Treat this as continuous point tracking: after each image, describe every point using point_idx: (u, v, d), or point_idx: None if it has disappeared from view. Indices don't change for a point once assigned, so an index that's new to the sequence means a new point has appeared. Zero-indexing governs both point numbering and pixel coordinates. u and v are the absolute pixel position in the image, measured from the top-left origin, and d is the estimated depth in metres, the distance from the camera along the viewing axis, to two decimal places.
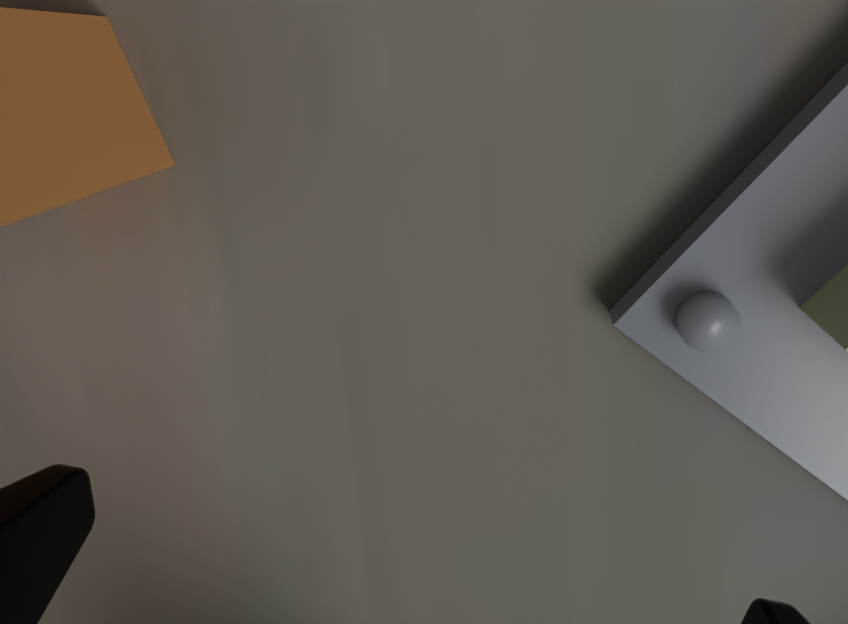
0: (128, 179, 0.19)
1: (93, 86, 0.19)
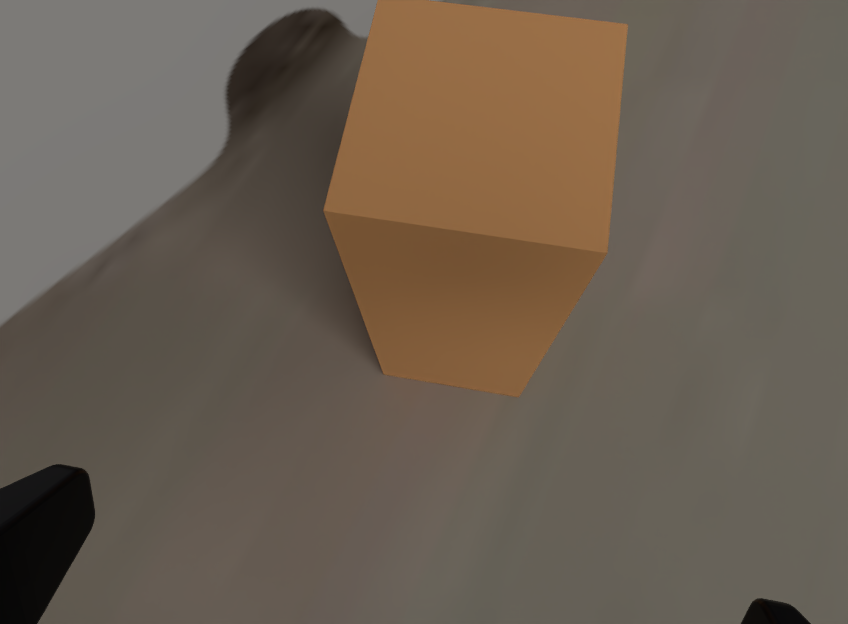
0: (529, 378, 0.20)
1: None
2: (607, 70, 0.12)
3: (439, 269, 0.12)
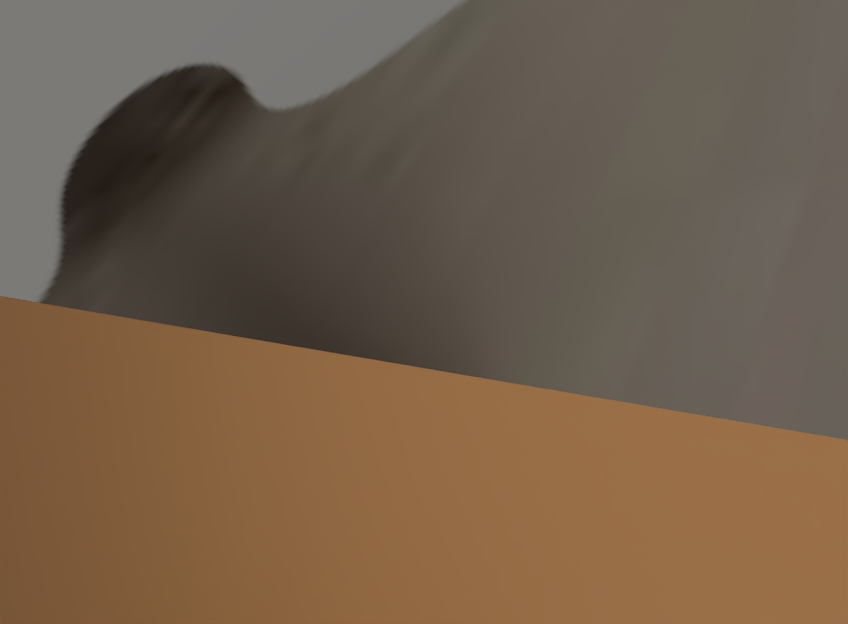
0: None
1: None
2: None
3: None
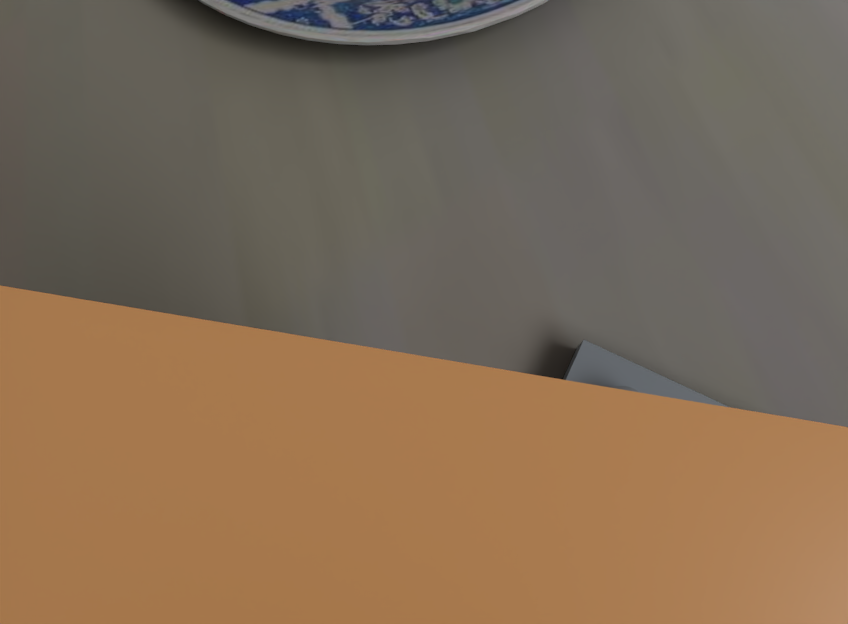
0: None
1: None
2: None
3: None
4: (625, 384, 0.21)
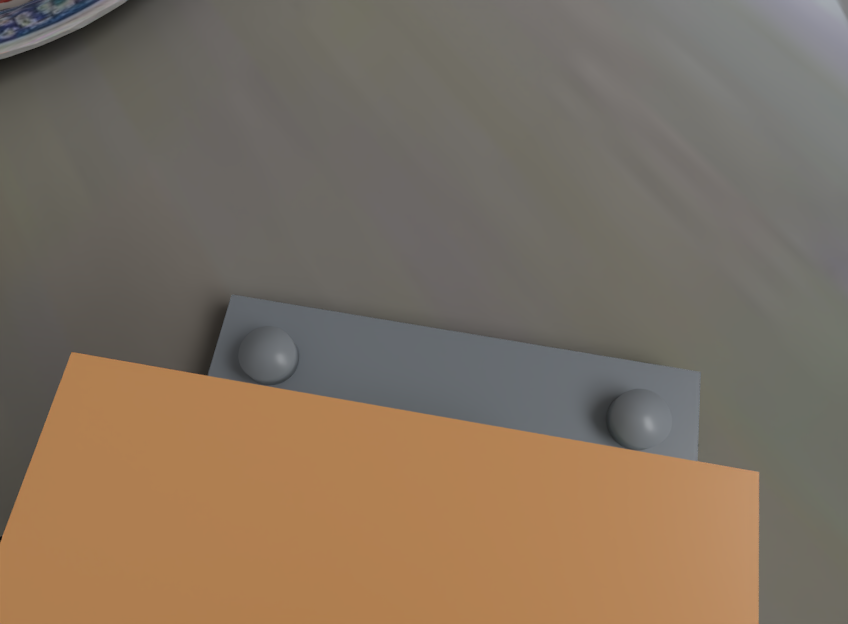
0: None
1: None
2: None
3: None
4: (276, 325, 0.21)
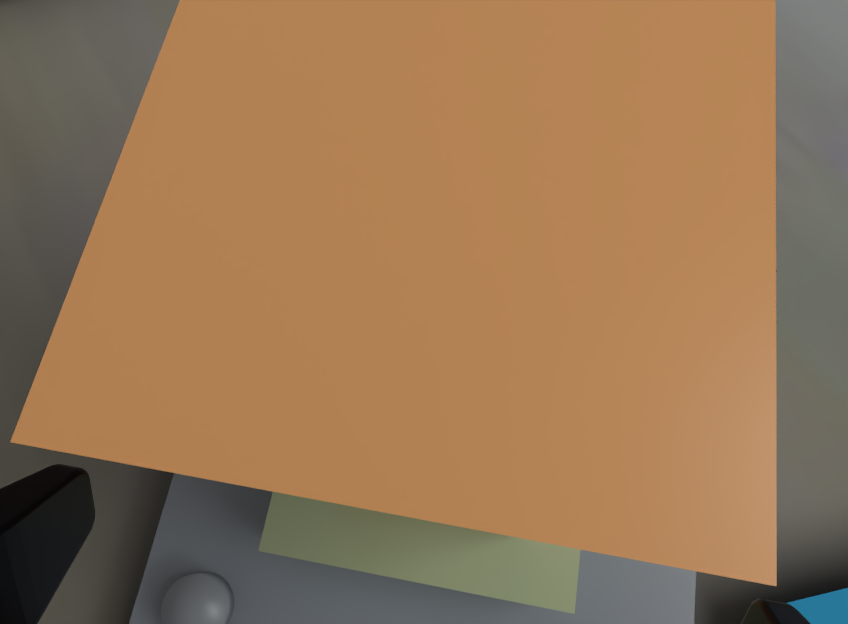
0: None
1: None
2: (736, 68, 0.05)
3: None
4: None
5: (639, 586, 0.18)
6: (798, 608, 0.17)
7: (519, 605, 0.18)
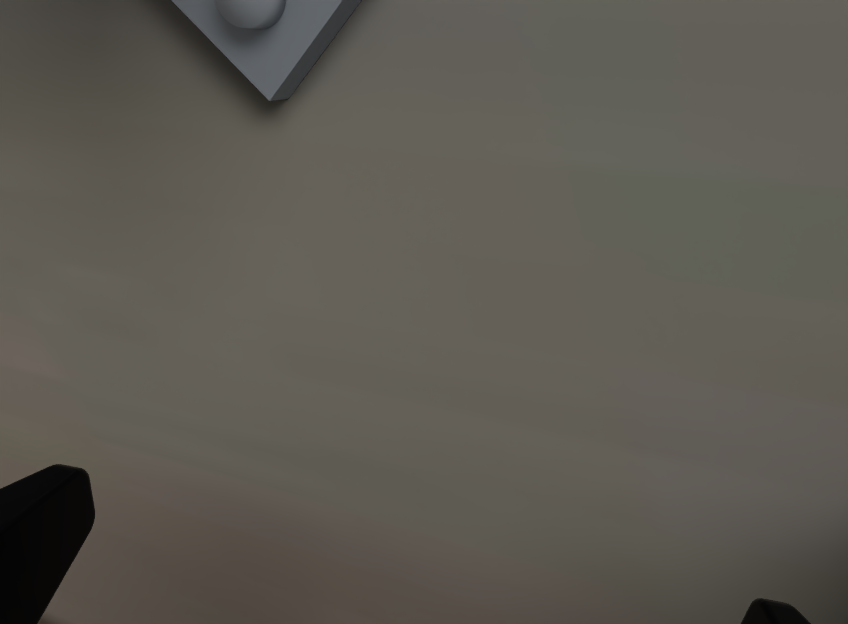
0: None
1: None
2: None
3: None
4: None
5: None
6: None
7: None
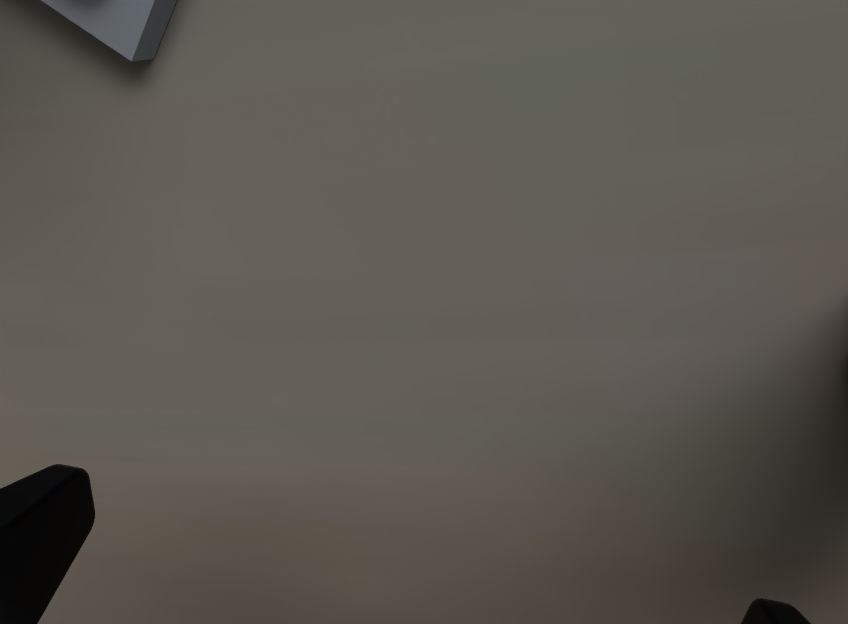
0: None
1: None
2: None
3: None
4: None
5: None
6: None
7: None
